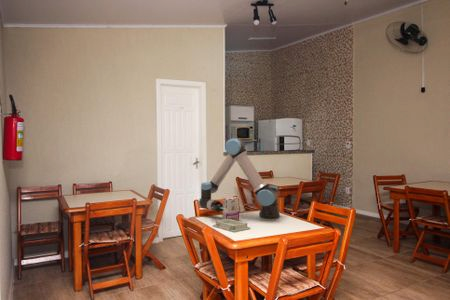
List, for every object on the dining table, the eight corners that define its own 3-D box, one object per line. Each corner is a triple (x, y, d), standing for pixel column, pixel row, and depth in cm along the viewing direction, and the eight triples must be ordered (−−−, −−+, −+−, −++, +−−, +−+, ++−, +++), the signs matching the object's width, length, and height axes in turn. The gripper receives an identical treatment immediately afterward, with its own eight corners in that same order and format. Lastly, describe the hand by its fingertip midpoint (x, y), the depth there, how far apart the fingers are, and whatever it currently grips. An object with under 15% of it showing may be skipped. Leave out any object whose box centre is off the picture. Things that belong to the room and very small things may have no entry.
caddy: (228, 223, 236) (228, 218, 236) (250, 228, 221) (250, 223, 221) (212, 226, 226) (212, 221, 226) (234, 232, 212) (234, 226, 211)
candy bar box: (234, 220, 246) (235, 197, 246) (239, 221, 242) (239, 197, 242) (221, 222, 239) (222, 198, 239) (226, 223, 235) (226, 199, 235)
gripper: (227, 208, 262) (247, 213, 246) (200, 212, 245) (220, 217, 229) (227, 198, 262) (247, 202, 246) (200, 201, 245) (220, 206, 229)
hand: (234, 209), depth 237 cm, fingers open, 13 cm apart
